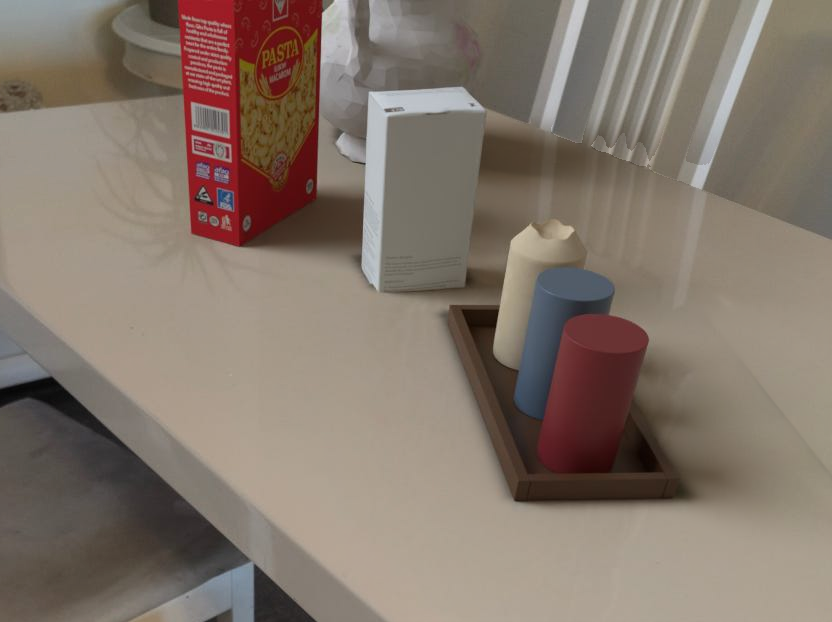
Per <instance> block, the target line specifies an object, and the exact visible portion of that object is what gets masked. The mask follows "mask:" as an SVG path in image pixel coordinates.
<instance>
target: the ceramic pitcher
mask: <svg viewBox="0 0 832 622" xmlns="http://www.w3.org/2000/svg"><path fill="white" fill-rule="evenodd" d="M483 65H484V50H483V45H482V40H481V37H480V35H479V34H478V32H477V31H476V30H475V29H474V27H473V26H472V25H471V24H470V23H469V22H468V21H467V20H466V18H465V17H464V16H463V15H462V13H461V12H460V11H459V10H458V8H457V6H456V4H455V2H454V0H333V2H332V3H331V4H330V5H329V6H328V7H327V8H326V9H325V10H324V11H322V36H321V69H320V101H319V115H321V116H322V117H323V119H324V120H325V121H327V122H328V123H329V124H330V125H332V127H334V128H336V129H337V130H340V131H342V133H341V134H340V136H339V137H338V139H337V140H336V141H334V144H335V146H336V148H337V150H338V151H339V152H340V154H341V155H343V156H344V157H346V158H347V159H348V160H350V161H351V162H354V163H355V162H357V163H361V164H366V139H367V120H368V98H369V92H381V91H402V90H421V89H436V88H450V87H463V88H464V89H466V91H467V92H468V93H469V94H470V95H471V96H472V97H473V98H474V99H475V100H476V97H477V95H478V94H477V93H478V90H479V87H480V83H481V80H482V73H483Z"/></svg>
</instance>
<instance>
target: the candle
mask: <svg viewBox="0 0 832 622" xmlns="http://www.w3.org/2000/svg"><path fill="white" fill-rule="evenodd" d="M509 244H510V245H509V250H508V257H507V263H506V268H505V274H504V280H503V287H502V290H501V291H502V292H501V296H500V297H501V298H500V304H499V305H500V309H499V315H498V321H497V327H496V333H495V339H494V346H493V354H494V356H495V358H496V359H497V360H498V361H499V362H500V363H502V364H503V365H505V366H507V367H509V368H512V369H515V370H518V371H519V368H520V363H521V357H522V352H523V347H524V342H525V336H526V331H527V326H528V321H529V316H530V310H531V305H532V300H533V295H534V290H535V284H536V279H537V277H538V275H539V274H540V273H541V272H543V271H545V270H548V269H552V268H560V267H570V268H579V269H584V270H585V265H586V260H587V257H588V249H587V248H586V246H585V244H584V242H583V241H582V240H581V238H580V236H579V235H578V234H577V232H576V230H575V228H574V227H573V226H572V225H564V224H563V223H561V222H560V221H559V220H557V219H556V218H550V219H547V220H546V221H544V222H543V223H538V222H536V221H533V222H531V223H530V224H529V225H528V226H527V227H526V228H524V229H523V230H522V231H520V232H519V233H518V234H517V235H515V236H514V237H513V238H512V239H511V241H510V243H509Z"/></svg>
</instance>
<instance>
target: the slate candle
mask: <svg viewBox="0 0 832 622" xmlns="http://www.w3.org/2000/svg"><path fill="white" fill-rule="evenodd" d="M615 291H616V288H615V285H614V283H613V282H612V281H611V280H610V279H609V278H607V277H606V276H604V275H602V274H600V273H598V272H594V271H592V270H588V269H585V268H584V269H579V268H570V267H560V268H552V269H548V270H545V271H543V272H541V273H540V274H539V275H538V277H537V279H536V284H535V290H534V295H533V300H532V305H531V310H530V316H529V321H528V326H527V331H526V336H525V342H524V347H523V352H522V357H521V363H520V368H519V373H518V378H517V383H516V389H515V394H514V402H515V405H516V406H517V408H518V409H519V410H520V411H522V412H523V413H525V414H526V415H528V416H530V417H533V418H536V419H539V420H543V419H544V415H545V410H546V406H547V401H548V396H549V392H550V387H551V383H552V378H553V374H554V369H555V364H556V360H557V355H558V351H559V346H560V342H561V337H562V333H563V328H564V325H565V323H566V322H567V321H568V320H569V319H571V318H573V317H575V316H579V315H584V314H605V315H610V312H611V308H612V304H613V300H614V295H615V293H616V292H615Z"/></svg>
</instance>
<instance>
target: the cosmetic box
mask: <svg viewBox="0 0 832 622" xmlns="http://www.w3.org/2000/svg"><path fill="white" fill-rule="evenodd" d="M487 114H488V111H487V109H486V108H484V107H483V105H482V104H480V103H479V101H478V100H476V98H475V99H474V98H473V97H472V96H471V95H470V94H469V93H468V92H467V91H466V89H464V88H463V87H450V88H436V89H421V90H402V91H381V92H369V98H368V120H367V139H366V163H365V171H364V173H365V174H364V176H365V178H364V196H363V197H364V199H363V217H362V218H363V219H362V221H363V224H362V244H361V245H362V248H361V271H362V272H363V274H364V275H365V277H366V280H367V281H368V282H369V284H370V285H373V286H374V289H376V291H377V292H378V293H397V292H398V293H399V292H400V293H401V292H415V291H416V292H417V291H431V290H433V291H434V290H442V289H455V288H465V287H466V281H467V280H466V279H467V274H468V273H467V272H468V264H469V256H470V248H471V247H470V246H471V239H472V230H473V224H474V223H473V222H474V215H475V204H476V199H477V190H478V184H479V175H480V167H481V159H482V150H483V144H484V143H483V142H484V134H485V127H486V119H487Z"/></svg>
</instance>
